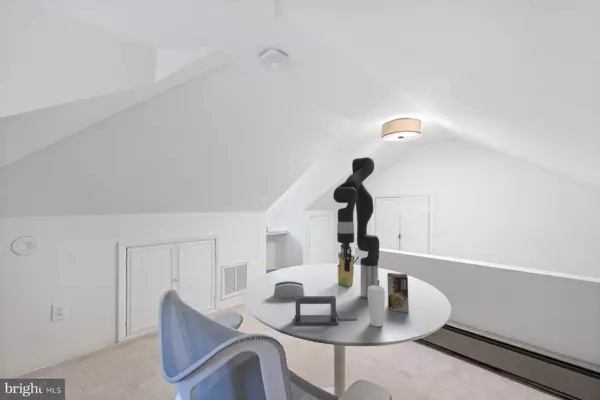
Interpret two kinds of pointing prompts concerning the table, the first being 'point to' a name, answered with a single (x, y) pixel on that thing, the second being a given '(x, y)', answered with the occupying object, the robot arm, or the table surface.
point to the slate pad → (346, 315)
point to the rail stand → (316, 319)
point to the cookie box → (398, 292)
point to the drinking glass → (376, 305)
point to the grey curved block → (288, 289)
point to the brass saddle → (342, 269)
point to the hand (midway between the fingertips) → (345, 269)
